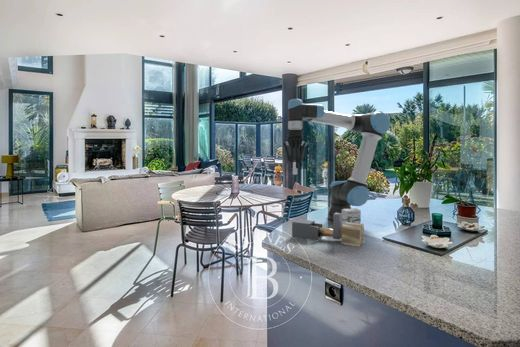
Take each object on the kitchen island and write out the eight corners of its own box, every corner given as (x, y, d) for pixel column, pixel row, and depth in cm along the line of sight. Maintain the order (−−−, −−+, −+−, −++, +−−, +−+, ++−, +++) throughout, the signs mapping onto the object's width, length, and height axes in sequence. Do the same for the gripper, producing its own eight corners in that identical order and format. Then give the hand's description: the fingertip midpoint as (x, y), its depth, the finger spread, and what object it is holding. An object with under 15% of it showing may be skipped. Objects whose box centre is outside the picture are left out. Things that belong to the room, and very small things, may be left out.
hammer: (314, 233, 163) (314, 210, 162) (351, 238, 155) (352, 214, 154) (311, 235, 159) (311, 212, 158) (349, 240, 151) (349, 215, 150)
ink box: (345, 233, 168) (345, 210, 167) (340, 231, 173) (341, 208, 172) (360, 232, 170) (361, 209, 169) (355, 230, 175) (356, 208, 174)
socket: (346, 239, 158) (346, 222, 157) (363, 242, 154) (363, 223, 153) (341, 244, 151) (341, 225, 150) (359, 246, 147) (359, 227, 146)
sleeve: (297, 233, 169) (297, 219, 168) (322, 236, 163) (322, 221, 162) (292, 237, 163) (292, 221, 162) (317, 240, 157) (317, 224, 156)
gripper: (280, 129, 174) (281, 174, 176) (304, 128, 168) (304, 175, 170) (286, 130, 181) (286, 173, 183) (309, 129, 174) (309, 174, 176)
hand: (295, 174), depth 176 cm, fingers closed
